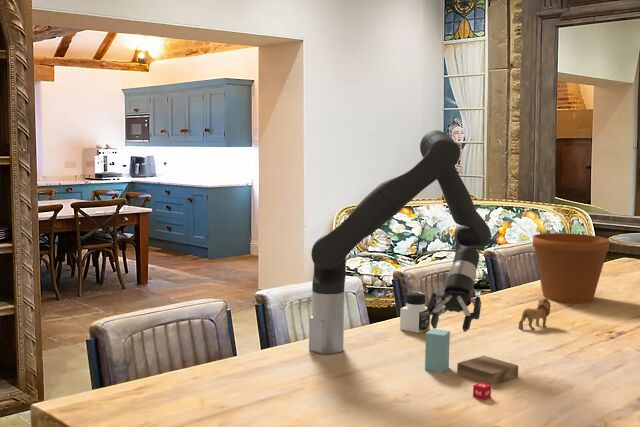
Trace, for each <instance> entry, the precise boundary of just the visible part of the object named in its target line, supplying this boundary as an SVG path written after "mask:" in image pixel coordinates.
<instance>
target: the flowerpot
mask: <svg viewBox="0 0 640 427" xmlns="http://www.w3.org/2000/svg"><path fill="white" fill-rule="evenodd" d="M532 247H533V248H534V251H535V256H536V257H535V258H536V263H537V268H538V269H537V270H538V275H539V280H540V285H541V291H542V296H544V297H545V298H546V299H548V301H554V302H558V301H559V303H566V302H568V303H567V304H585V303H586V304H587V303H591V302H592V301H593V300H594V298H595V295H596V294H595V293H596V291H597V287H598V284H599V281H600V280H599V279H600V277H601V272H602V270H603V266H604V263H605V260H606V256H607V254H608V252H610V238H606V237H602V236H598V235H597V236H596V235H590V234H581V233H568V232H567V233H566V232H564V233H563V232H562V233H561V232H560V233H557V232H556V233H555V232H554V233H553V232H551V233H550V232H549V233H539V234H534V235H533V236H532ZM544 297H543V298H544Z"/></svg>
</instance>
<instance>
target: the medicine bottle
mask: <svg viewBox="0 0 640 427" xmlns="http://www.w3.org/2000/svg"><path fill="white" fill-rule="evenodd" d="M405 297H406V298H405V301H406V302H405V306H403V307H401V308H400V318H399V321H400V322H399V325H400V326H399V329H400V331H405V332H409V333H410V332H411V333H415V334H421V333H423V332H425V331H429V330H431V329H430V328H431V315H429V312H428V310H427V307H428V306H426V294H425V293H423V292H421V291H410V292H407V293H406V296H405Z"/></svg>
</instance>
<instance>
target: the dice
mask: <svg viewBox="0 0 640 427" xmlns="http://www.w3.org/2000/svg"><path fill="white" fill-rule="evenodd" d="M472 386H473V388H472V397H473V398H476V399H478V400H481V401H486V400H488V399H489V398H492V397H491V396H492V386H491V385H488V384H485V383H482V382H478V383H476V384H473V385H472Z"/></svg>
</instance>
